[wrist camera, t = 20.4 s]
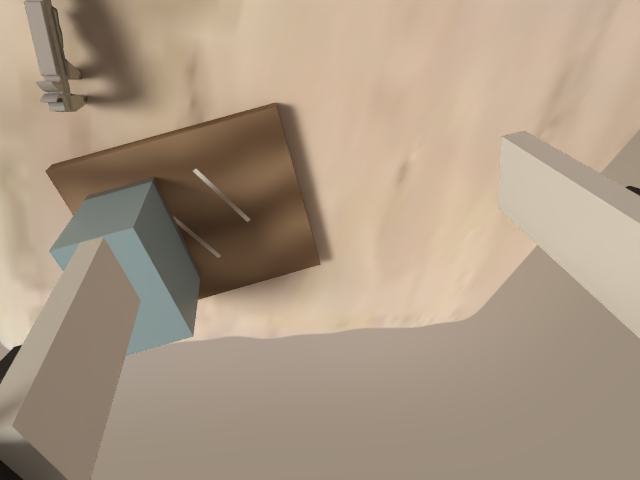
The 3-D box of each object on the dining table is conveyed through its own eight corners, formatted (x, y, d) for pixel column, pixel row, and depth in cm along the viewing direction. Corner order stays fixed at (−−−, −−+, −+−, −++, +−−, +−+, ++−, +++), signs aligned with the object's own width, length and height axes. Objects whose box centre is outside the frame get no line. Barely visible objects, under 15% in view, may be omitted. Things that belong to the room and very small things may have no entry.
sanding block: (87, 195, 37) (49, 251, 29) (154, 177, 37) (133, 227, 30) (143, 289, 43) (123, 356, 35) (200, 273, 43) (193, 336, 36)
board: (51, 164, 37) (45, 171, 35) (275, 102, 37) (276, 106, 36) (140, 307, 46) (137, 317, 45) (318, 256, 46) (320, 264, 45)
